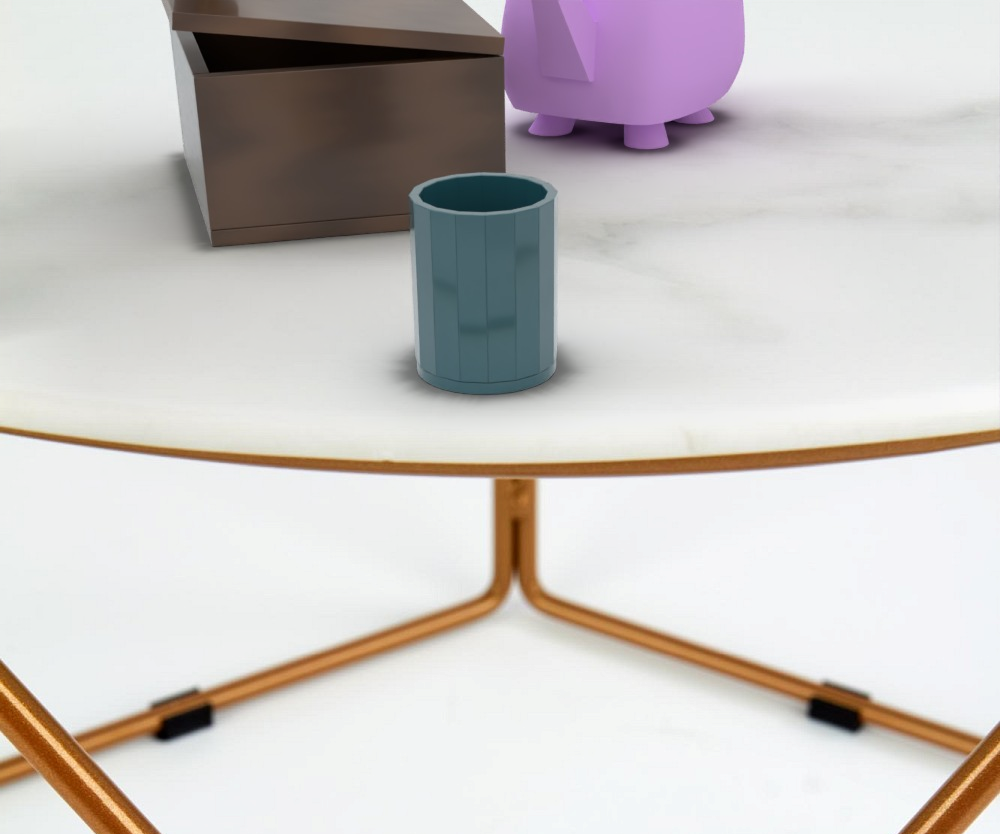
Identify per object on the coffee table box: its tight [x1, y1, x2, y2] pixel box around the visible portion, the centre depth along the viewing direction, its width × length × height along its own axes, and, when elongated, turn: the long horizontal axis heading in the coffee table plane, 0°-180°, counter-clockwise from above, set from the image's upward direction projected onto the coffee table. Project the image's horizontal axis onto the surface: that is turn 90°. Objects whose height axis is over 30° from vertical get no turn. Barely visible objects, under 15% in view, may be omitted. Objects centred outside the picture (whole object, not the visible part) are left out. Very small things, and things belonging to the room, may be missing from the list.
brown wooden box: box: [168, 21, 507, 248], centre depth 88 cm, size 15×17×8 cm
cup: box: [408, 172, 559, 395], centre depth 67 cm, size 6×6×7 cm
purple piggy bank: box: [500, 0, 746, 150], centre depth 97 cm, size 20×12×13 cm, turn 150°
